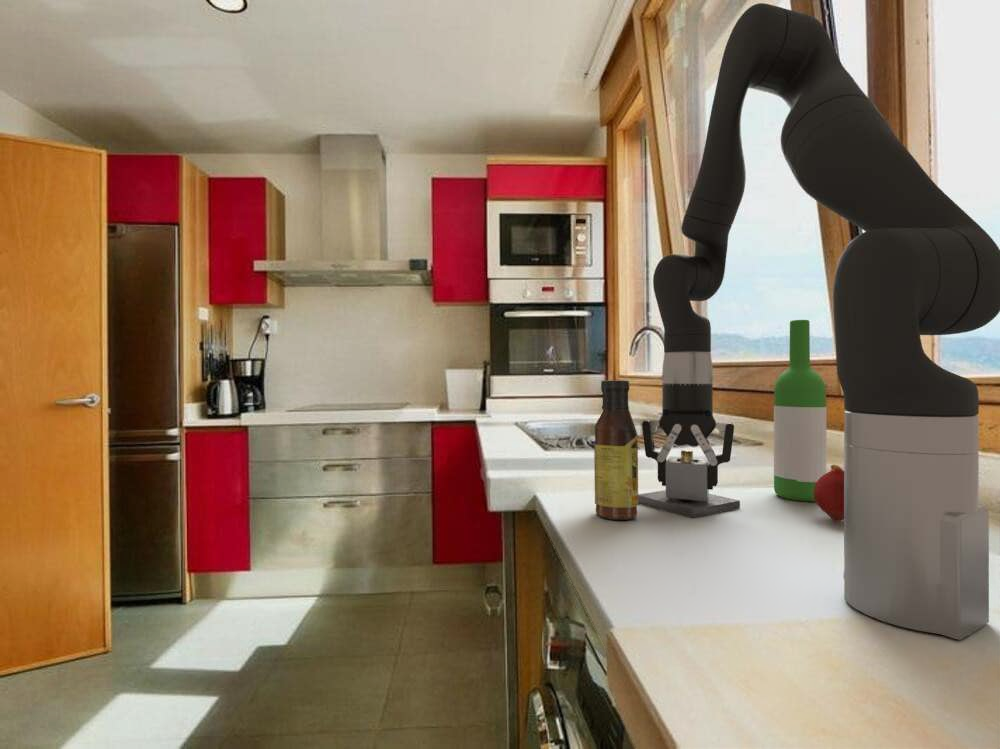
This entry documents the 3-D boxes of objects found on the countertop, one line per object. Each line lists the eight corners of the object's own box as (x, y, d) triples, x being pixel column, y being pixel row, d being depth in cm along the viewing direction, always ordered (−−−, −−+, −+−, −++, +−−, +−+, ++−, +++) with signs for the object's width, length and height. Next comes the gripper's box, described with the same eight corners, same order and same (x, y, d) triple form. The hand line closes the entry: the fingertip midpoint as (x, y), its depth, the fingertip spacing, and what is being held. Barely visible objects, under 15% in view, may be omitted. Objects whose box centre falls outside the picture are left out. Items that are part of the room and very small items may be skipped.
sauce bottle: (643, 522, 73) (643, 380, 73) (598, 521, 73) (598, 380, 73) (632, 510, 80) (632, 380, 80) (591, 509, 80) (591, 379, 80)
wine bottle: (784, 490, 94) (784, 323, 94) (833, 498, 88) (833, 320, 88) (765, 496, 89) (765, 320, 89) (815, 505, 83) (816, 316, 83)
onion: (848, 516, 76) (847, 461, 76) (872, 527, 71) (871, 468, 71) (806, 515, 77) (806, 461, 77) (826, 526, 71) (826, 467, 71)
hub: (739, 508, 81) (739, 452, 81) (692, 518, 75) (692, 458, 75) (682, 494, 90) (682, 444, 90) (636, 502, 85) (636, 449, 85)
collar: (708, 493, 84) (708, 459, 84) (707, 501, 79) (707, 464, 79) (669, 489, 87) (669, 456, 87) (665, 497, 81) (665, 462, 81)
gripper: (736, 381, 83) (736, 486, 83) (644, 381, 89) (644, 479, 89) (737, 381, 76) (737, 496, 76) (636, 381, 82) (636, 487, 82)
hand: (687, 486), depth 83 cm, fingers open, 6 cm apart
